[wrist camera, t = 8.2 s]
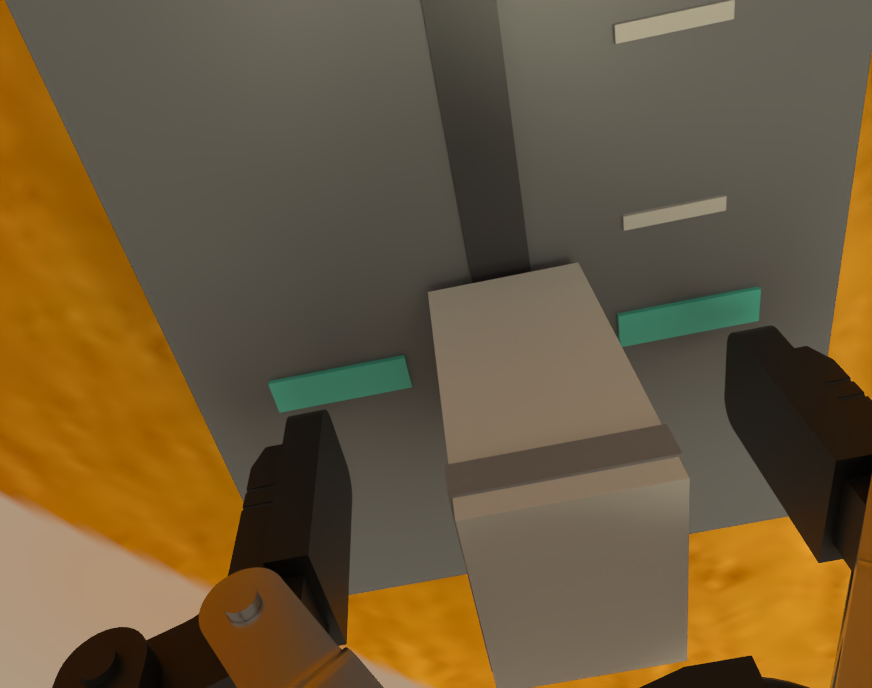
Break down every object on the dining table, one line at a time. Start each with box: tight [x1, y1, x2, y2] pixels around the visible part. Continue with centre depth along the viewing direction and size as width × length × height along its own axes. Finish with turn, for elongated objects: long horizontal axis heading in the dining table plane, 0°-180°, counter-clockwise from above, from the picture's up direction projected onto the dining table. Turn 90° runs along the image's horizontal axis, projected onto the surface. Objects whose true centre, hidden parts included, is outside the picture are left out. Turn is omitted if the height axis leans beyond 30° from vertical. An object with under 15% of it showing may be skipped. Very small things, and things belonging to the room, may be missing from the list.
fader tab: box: [428, 263, 690, 688], centre depth 13 cm, size 4×3×6 cm
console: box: [5, 0, 872, 595], centre depth 13 cm, size 26×14×3 cm, turn 11°
